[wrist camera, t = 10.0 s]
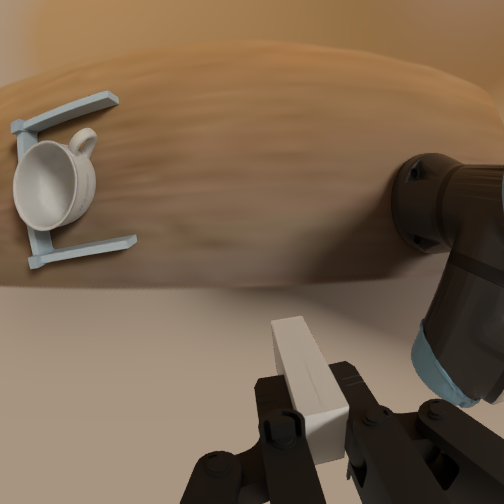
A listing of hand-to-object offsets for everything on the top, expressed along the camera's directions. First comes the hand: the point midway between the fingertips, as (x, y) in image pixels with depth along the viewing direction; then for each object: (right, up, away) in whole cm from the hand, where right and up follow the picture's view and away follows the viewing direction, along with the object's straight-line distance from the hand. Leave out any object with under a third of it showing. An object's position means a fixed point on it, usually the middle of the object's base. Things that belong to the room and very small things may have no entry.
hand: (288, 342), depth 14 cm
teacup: (-26, +15, +22) cm, 37 cm away
